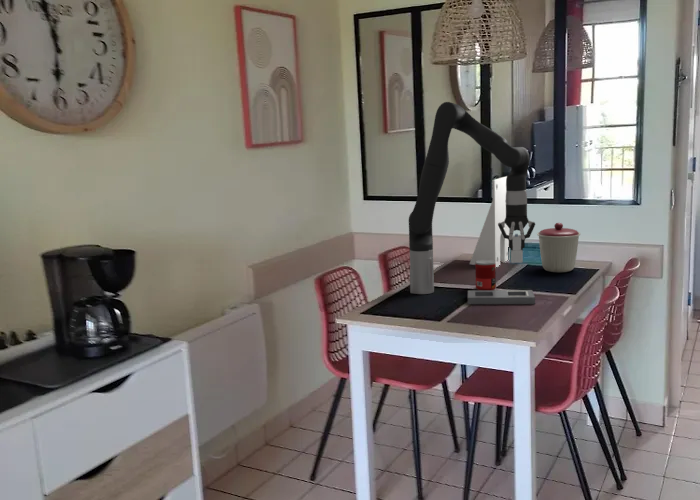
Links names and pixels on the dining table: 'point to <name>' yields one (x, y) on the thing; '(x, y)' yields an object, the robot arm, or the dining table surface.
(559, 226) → the canister
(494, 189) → the white bracket plate
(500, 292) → the panel
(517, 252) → the plug
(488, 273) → the canned food
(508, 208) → the robot arm
